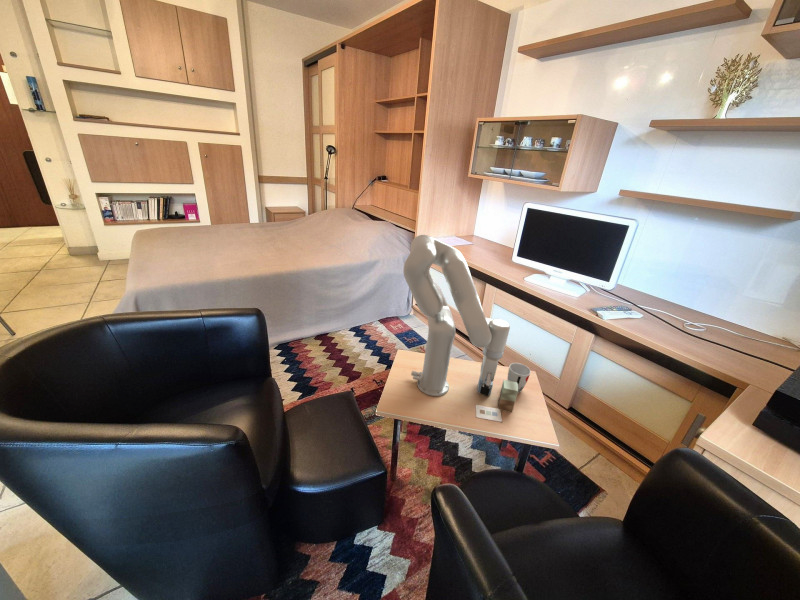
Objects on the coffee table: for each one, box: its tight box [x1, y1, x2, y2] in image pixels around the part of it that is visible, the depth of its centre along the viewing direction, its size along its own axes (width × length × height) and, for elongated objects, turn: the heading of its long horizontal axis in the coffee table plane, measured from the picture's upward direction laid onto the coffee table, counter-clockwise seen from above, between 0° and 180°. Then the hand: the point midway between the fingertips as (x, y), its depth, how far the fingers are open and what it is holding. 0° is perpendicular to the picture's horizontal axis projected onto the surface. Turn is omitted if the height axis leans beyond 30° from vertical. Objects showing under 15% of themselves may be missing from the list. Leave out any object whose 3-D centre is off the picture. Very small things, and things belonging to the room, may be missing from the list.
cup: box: [507, 362, 532, 394], centre depth 132 cm, size 8×8×10 cm
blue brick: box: [476, 377, 494, 396], centre depth 131 cm, size 5×5×5 cm
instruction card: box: [475, 404, 503, 423], centre depth 120 cm, size 9×6×1 cm
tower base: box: [497, 379, 519, 413], centre depth 122 cm, size 5×5×10 cm
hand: (484, 387), depth 132 cm, fingers open, 7 cm apart
